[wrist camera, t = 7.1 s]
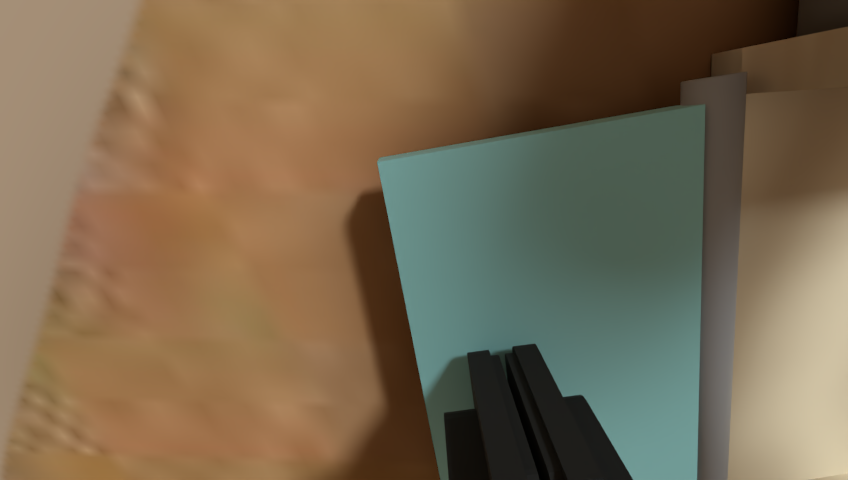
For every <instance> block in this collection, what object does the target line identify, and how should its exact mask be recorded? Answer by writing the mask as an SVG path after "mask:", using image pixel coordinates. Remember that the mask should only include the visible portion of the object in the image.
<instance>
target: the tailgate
mask: <svg viewBox="0 0 848 480" xmlns="http://www.w3.org/2000/svg"><path fill="white" fill-rule="evenodd" d="M746 91H747V72H739V73H732V74H725V75H719V76H712V77H706V78H700V79H694V80H689V81H684V82H681V101H680V105H676V106H670V107H664V108H659V109H653V110H647V111H642V112H636V113H630V114H625V115H619V116H613V117H608V118H602V119H596V120H591V121H585V122H579V123H574V124H568V125H562V126H556V127H551V128H545V129H539V130H534V131H528V132H522V133H517V134H511V135H505V136H500V137H494V138H488V139H483V140H477V141H471V142H466V143H460V144H454V145H449V146H443V147H437V148H432V149H426V150H420V151H415V152H409V153H403V154H398V155H392V156H386V157H381V158H379V160H378V162H377V164H378V169H379V174H380V179H381V184H382V189H383V194H384V199H385V204H386V209H387V214H388V219H389V224H390V229H391V234H392V239H393V244H394V249H395V254H396V259H397V264H398V269H399V274H400V279H401V284H402V289H403V295H404V300H405V305H406V310H407V315H408V320H409V325H410V330H411V335H412V340H413V345H414V350H415V355H416V360H417V365H418V370H419V375H420V380H421V385H422V390H423V395H424V400H425V405H426V410H427V415H428V420H429V425H430V430H431V435H432V440H433V445H434V450H435V455H436V460H437V466H438V471H439V476H440V480H449V478H448V465H447V452H446V439H445V426H444V413H445V412H453V411H460V410H468V409H474V401H473V394H472V387H471V380H470V372H469V365H468V358H467V353H468V352H475V351H482V350H489V351H490V355H499V357H500V360H501V363H502V366H503V369H504V372H505V375H506V378H507V372H506V363H505V353H512V347H513V346H519V345H526V344H534V343H535V344H536V345H537V347H538V349H539V351H540V353H541V355H542V357H543V359H544V361H545V363H546V365H547V367H548V369H549V371H550V373H551V374H552V376H553V378H554V380H555V382H556V384H557V386H558V388H559V390H560V392H561V394H562V396H563V397H566V396H574V395H582V396H584V398H585V399H586V400H587V402H588V404H589V405H590V407H591V409H592V411H593V412H594V414H595V416H596V417H597V419H598V421H599V423H600V424H601V426H602V428H603V429H604V431H605V433H606V434H607V436H608V438H609V440H610V441H611V443H612V445H613V446H614V448H615V450H616V451H617V453H618V455H619V457H620V458H621V460H622V462H623V463H624V465H625V467H626V468H627V470H628V472H629V474H630V475H631V477H632V479H633V480H728V461H729V440H730V420H731V399H732V379H733V358H734V338H735V317H736V297H737V276H738V255H739V235H740V214H741V194H742V173H743V153H744V132H745V112H746Z"/></svg>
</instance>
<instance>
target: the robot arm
mask: <svg viewBox="0 0 848 480" xmlns="http://www.w3.org/2000/svg"><path fill="white" fill-rule="evenodd" d="M467 358H468V365H469V372H470V380H471V387H472V394H473V401H474V409H468V410H460V411H453V412H445V413H444V426H445V439H446V452H447V465H448V478H449V480H633V479H632V477H631V475H630V474H629V472H628V470H627V468H626V467H625V465H624V463H623V462H622V460H621V458H620V457H619V455H618V453H617V451H616V450H615V448H614V446H613V445H612V443H611V441H610V440H609V438H608V436H607V434H606V433H605V431H604V429H603V428H602V426H601V424H600V423H599V421H598V419H597V417H596V416H595V414H594V412H593V411H592V409H591V407H590V405H589V404H588V402H587V400H586V399H585V398H584V396H582V395H574V396H566V397H563V396H562V394H561V392H560V390H559V388H558V386H557V384H556V382H555V380H554V378H553V376H552V374H551V373H550V371H549V369H548V367H547V365H546V363H545V361H544V359H543V357H542V355H541V353H540V351H539V349H538V347H537V345H536V344H535V343H534V344H526V345H519V346H513V347H512V353H505V363H506V372H507V378H506V375H505V372H504V369H503V366H502V363H501V360H500V357H499V355H490V351H489V350H482V351H475V352H468V353H467Z"/></svg>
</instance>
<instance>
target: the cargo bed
mask: <svg viewBox="0 0 848 480" xmlns="http://www.w3.org/2000/svg"><path fill="white" fill-rule="evenodd" d="M739 72H747V91H746V112H745V132H744V153H743V173H742V194H741V214H740V235H739V255H738V276H737V297H736V317H735V338H734V358H733V379H732V399H731V420H730V440H729V461H728V480H848V0H799V11H798V24H797V37H794V38H789V39H784V40H779V41H774V42H769V43H764V44H759V45H754V46H749V47H745V48H740V49H735V50H730V51H725V52H720V53H715V54H712V66H711V77H712V76H719V75H725V74H732V73H739Z"/></svg>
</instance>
